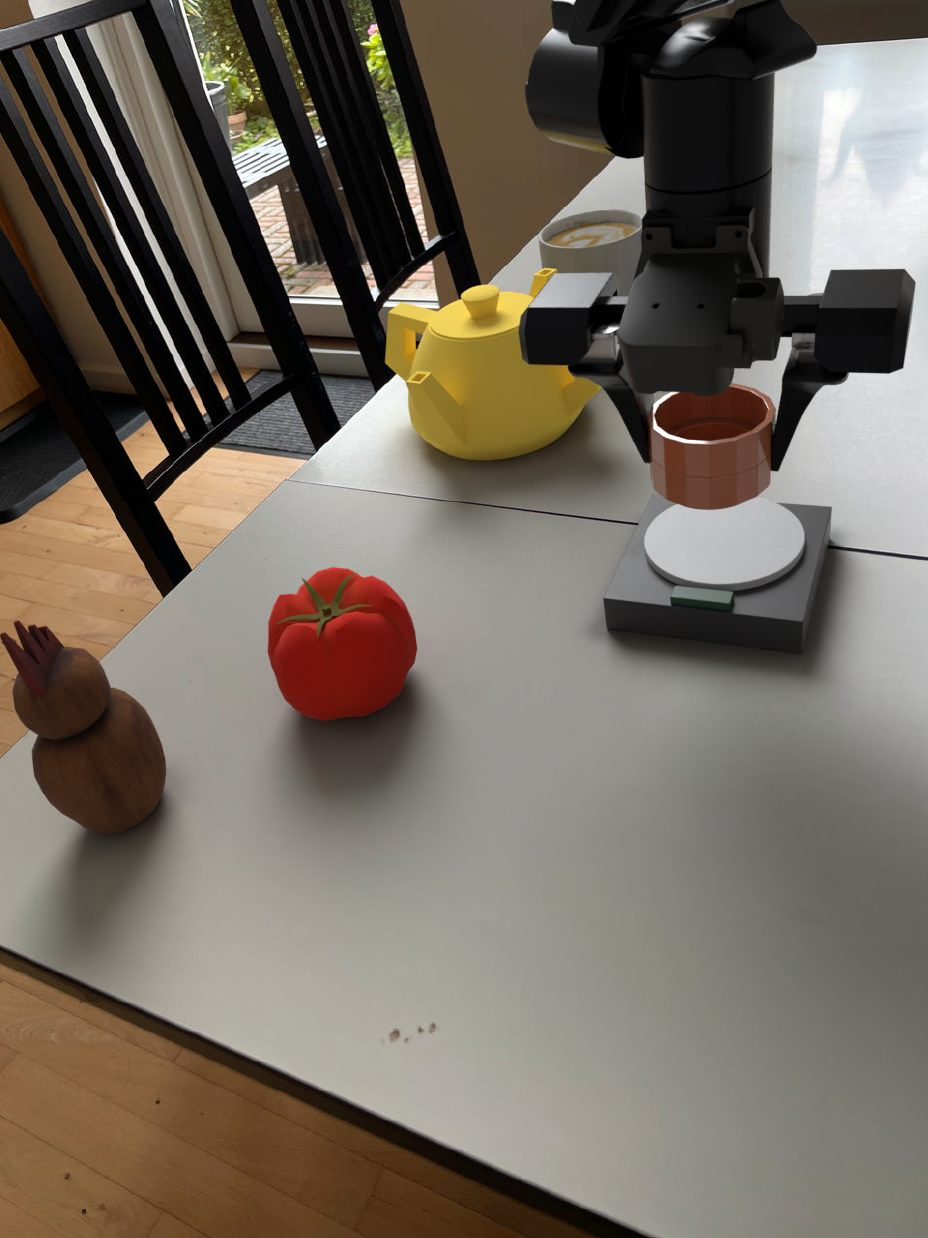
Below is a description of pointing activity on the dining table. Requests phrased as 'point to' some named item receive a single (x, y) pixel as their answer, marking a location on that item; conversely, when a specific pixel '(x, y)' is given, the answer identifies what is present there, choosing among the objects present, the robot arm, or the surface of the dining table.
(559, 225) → the coffee mug
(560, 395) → the teapot
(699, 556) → the scale
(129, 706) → the wooden figurine
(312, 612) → the tomato
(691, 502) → the bowl
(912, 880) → the dining table surface
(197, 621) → the dining table surface
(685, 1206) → the dining table surface
